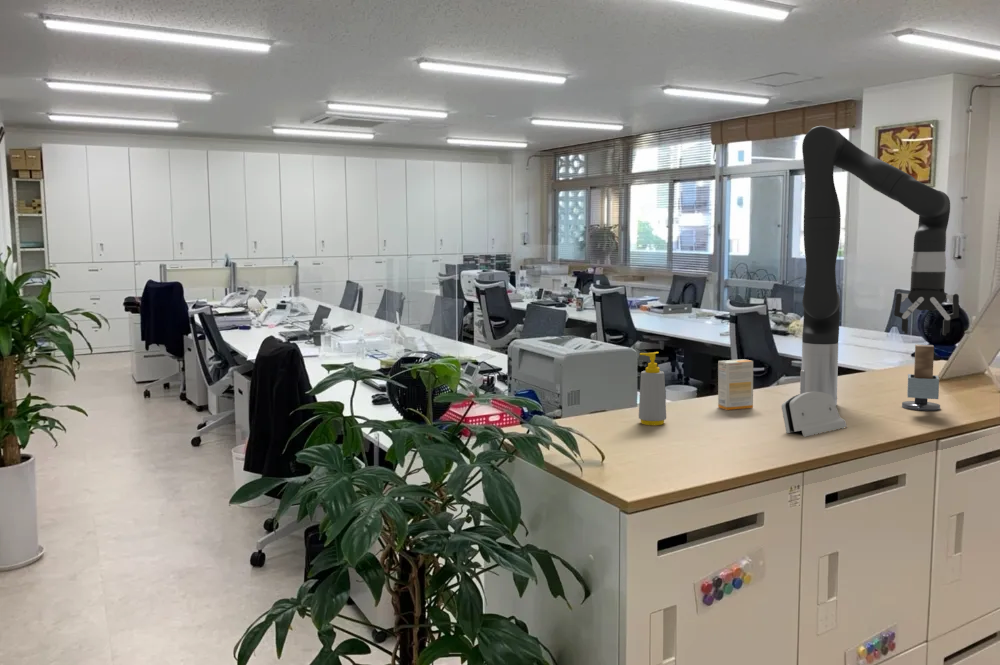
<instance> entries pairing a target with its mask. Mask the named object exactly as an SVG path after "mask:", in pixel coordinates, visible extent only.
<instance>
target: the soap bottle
mask: <svg viewBox="0 0 1000 665" xmlns="http://www.w3.org/2000/svg"><path fill="white" fill-rule="evenodd" d="M656 354H657V355H658V354H659V351H654V352H640V353H639V356H646V357H649V360H650V362H648V363H647V367H645V370H643V371H641V372H640V383H639V384H640V386H639V405H638V419H639V420H640V422H641V424H642V425H645V426H661V425H664V424H665V420H667V402H666V382H665V381H666V380H665V372H664V371H663V370H660V369H661V368H660V367H659V366H658V363H657V362H655V361H656Z"/></svg>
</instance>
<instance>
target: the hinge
mask: <svg viewBox="0 0 1000 665" xmlns="http://www.w3.org/2000/svg"><path fill="white" fill-rule="evenodd" d="M781 410H782V416H783V422H784V427H785V433H786V434H790V433H795V432H800V431H801V433H802V436H803V437H805V438H806V437H810V436H815V435H818V433H819V434H822V433H821V432H824V433H827V432H826V431H829V432H831V431H830V430H833V431H837V430H836V429H838V430H841V429H840V428H842V429H845V428H844V427H847V423H846V420H845V419H844V418H842V417H841V416H840V413H839V411H838V409H837V405H835V403H834V400H833V397H832V396H831V395H830V394H827V393H823V392H806V393H802V394H800V393H799V394H796V395H794V396H792V397H790V398H788V399H786V401H784V402H783V403H782V404H781ZM847 428H848V427H847ZM814 434H815V435H814Z"/></svg>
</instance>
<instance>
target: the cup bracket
mask: <svg viewBox="0 0 1000 665" xmlns="http://www.w3.org/2000/svg"><path fill="white" fill-rule="evenodd" d="M906 393H907V394H906V396H907V398H910V399H914V400H907V401H903V402H901V408H903V409H907V410H911V411H919V412H937V411H940V410H941V404H939V403H937V402H931V401H928V400H939V394H940V377H939V375H934V374H933V379H926V378H914V373H913V374H912V373H911V374H909V373H908V374H907V392H906Z"/></svg>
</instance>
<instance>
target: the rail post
mask: <svg viewBox="0 0 1000 665" xmlns="http://www.w3.org/2000/svg"><path fill="white" fill-rule="evenodd" d="M914 347H915V348H914V371H913V374H914V378H926V379H933V375H934V358H935V357H934V356H935V355H934V354H935V352H934V351H935V346H934V345H933V344H916V343H915V345H914Z"/></svg>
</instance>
